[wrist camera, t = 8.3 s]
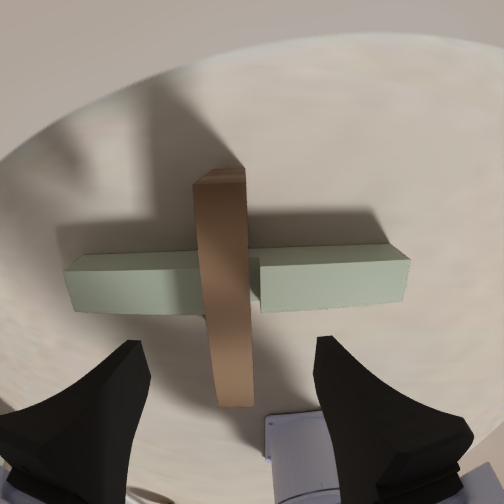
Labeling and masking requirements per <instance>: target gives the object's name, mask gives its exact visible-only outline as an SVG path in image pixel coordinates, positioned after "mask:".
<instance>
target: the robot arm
mask: <svg viewBox="0 0 504 504" xmlns="http://www.w3.org/2000/svg"><path fill="white" fill-rule="evenodd" d="M313 377H314V383H315V388H316V393H317V397H318V400H319V403H320V406H321V409H322V411H314V412H305V413H295V414H284V415H270V416H267V417H266V418H265V461H266V462H267V463H271V464H272V475H273V487H274V499H275V504H504V489H503V487H502V485H501V483H500V482H499V480H498V478H497V476H496V474H495V472H494V470H493V468H492V467H491V465H490V463H489V462H486V463H484V464H482V465H480V466H479V467H477V468H475V469H473V470H471V471H470V472H468V473H466V474H465V475H463V476H462V477H460V478H459V476H458V473H457V472H458V471H459V470H460V467H459V465H458V463H457V461H459V459H460V458H461V457H462V456H463V455H464V454H465V452H466V451H467V450H468V449H469V447H470V446H471V444H472V442H473V440H474V434H473V433H472V431H471V429H470V428H469V426H468V424H467V423H466V421H465V420H464V418H463V417H459V416H455V415H452V414H448V413H445V412H441V411H438V410H436V409H433V408H431V407H428V406H426V405H423V404H421V403H419V402H417V401H415V400H413V399H411V398H409V397H407V396H405V395H403V394H401V393H400V392H398V391H396V390H395V389H393V388H392V387H390V386H389V385H387V384H386V383H384V382H383V381H381V380H380V379H379V378H377V377H376V376H375V375H374V374H372V373H371V372H370V371H369V370H367V369H366V368H365V367H364V366H363V365H362V364H361V363H360V362H358V361H357V360H356V359H355V358H354V357H353V356H352V355H351V354H350V353H349V352H348V351H347V350H346V349H345V348H344V347H343V346H342V345H341V344H340V343H339V342H338V341H337V340H336V339H335V338H334V337H333V336H322V337H317V344H316V353H315V361H314V369H313ZM150 380H151V374H150V371H149V368H148V364H147V361H146V358H145V354H144V351H143V347H142V344H141V341H139V340H127V341H126V342H124V343H123V344H122V345H121V346H119V347H118V348H117V349H116V350H115V351H114V352H113V353H111V354H110V355H109V356H108V357H107V358H106V359H105V360H103V361H102V362H101V363H100V364H99V365H98V366H96V367H95V368H94V369H93V370H91V371H90V372H89V373H87V374H86V375H85V376H84V377H82V378H81V379H80V380H78V381H77V382H76V383H74V384H73V385H71V386H70V387H68V388H66V389H65V390H63V391H62V392H60V393H58V394H56V395H54V396H52V397H50V398H48V399H46V400H44V401H42V402H40V403H38V404H35V405H33V406H30V407H28V408H25V409H22V410H19V411H15V412H12V413H8V414H4V415H0V455H1V457H2V458H3V459H4V460H5V461H6V462H7V463H8V464H9V465H10V466H11V467H12V469H11V471H10V472H9V471H8V470H6V469H5V468H3V467H2V466H0V504H125V496H126V482H127V473H128V465H129V459H130V453H131V447H132V443H133V439H134V435H135V432H136V429H137V426H138V423H139V420H140V417H141V414H142V411H143V408H144V405H145V402H146V399H147V396H148V391H149V386H150Z"/></svg>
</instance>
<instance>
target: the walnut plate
mask: <svg viewBox="0 0 504 504" xmlns="http://www.w3.org/2000/svg"><path fill="white" fill-rule="evenodd" d="M193 195H194V209H195V221H196V233H197V244H198V255H199V265H200V274H201V284H202V293H203V301H204V310H205V318H206V326H207V333H208V341H209V348H210V355H211V362H212V368H213V375H214V381H215V388H216V394H217V400H218V406H219V407H254V387H253V361H252V335H251V308H250V281H249V253H248V224H247V194H246V173H245V168H240V169H218V170H211V171H210V172H209V173H207V174H206V175H205V176H203V177H202V178H201V179H199V180H198V181H197V182H196V183H194V184H193Z"/></svg>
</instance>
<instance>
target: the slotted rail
mask: <svg viewBox="0 0 504 504" xmlns="http://www.w3.org/2000/svg"><path fill="white" fill-rule="evenodd" d="M248 253H249V281H250V301H260V308H261V313H272V312H291V311H307V310H321V309H334V308H346V307H357V306H367V305H377V304H386V303H395V302H403V298H404V293H405V288H406V283H407V278H408V272H409V267H410V261H411V259H410V258H408V257H407V256H406V255H405V254H403V253H402V252H401V251H399V250H398V249H397V248H395V247H394V246H393V245H392V244H367V245H337V246H307V247H279V248H251V249H248ZM63 273H64V277H65V281H66V284H67V288H68V292H69V295H70V298H71V302H72V305H73V308H74V311H75V312H86V313H109V314H144V315H205V310H204V301H203V293H202V284H201V274H200V265H199V255H198V250H197V251H171V252H146V253H120V254H96V255H83V256H81V257H80V258H79V259H78V260H76V261H75V262H74V263H73V264H72V265H70V266H69V267H68V268H67V269H66V270H64V271H63Z"/></svg>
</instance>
